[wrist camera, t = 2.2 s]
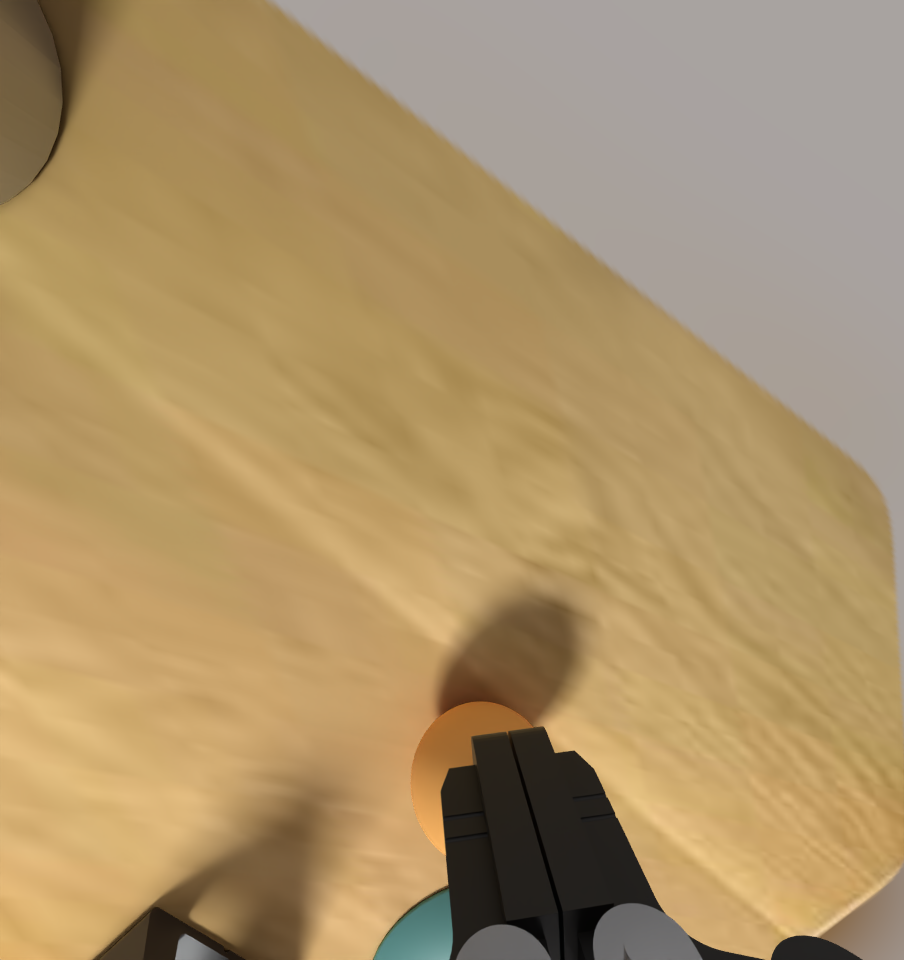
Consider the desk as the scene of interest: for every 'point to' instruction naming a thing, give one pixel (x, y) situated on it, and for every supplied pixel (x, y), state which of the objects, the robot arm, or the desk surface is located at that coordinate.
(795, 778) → the desk surface
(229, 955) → the phone stand
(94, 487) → the desk surface
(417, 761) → the ball
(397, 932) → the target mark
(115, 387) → the desk surface
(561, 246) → the desk surface
